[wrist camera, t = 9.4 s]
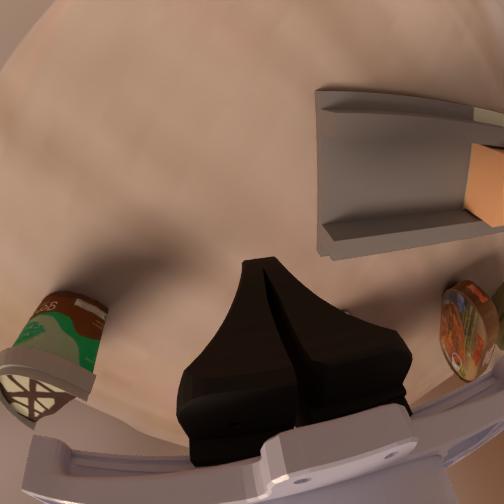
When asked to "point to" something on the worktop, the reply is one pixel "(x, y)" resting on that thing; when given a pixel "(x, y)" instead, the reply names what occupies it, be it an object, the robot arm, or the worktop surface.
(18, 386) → the food container
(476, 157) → the block
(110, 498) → the robot arm
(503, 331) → the piston
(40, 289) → the worktop surface
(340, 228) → the chute
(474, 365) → the tin
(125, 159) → the worktop surface
